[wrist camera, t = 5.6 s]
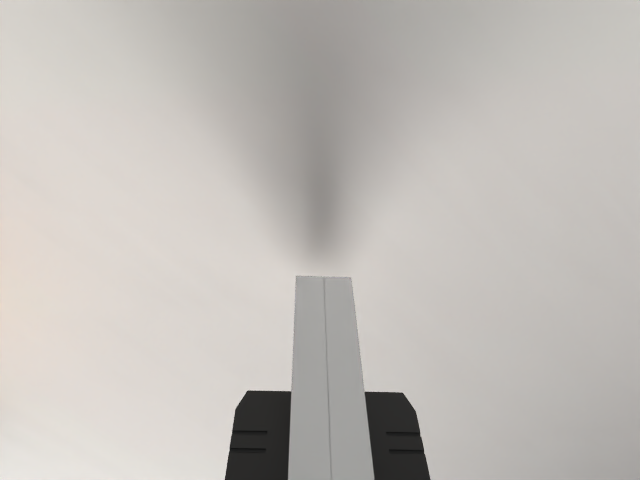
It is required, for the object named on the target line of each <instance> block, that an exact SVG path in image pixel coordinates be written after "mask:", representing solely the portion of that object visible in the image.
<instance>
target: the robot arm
mask: <svg viewBox="0 0 640 480" xmlns="http://www.w3.org/2000/svg"><path fill="white" fill-rule="evenodd" d="M225 480H430V476H429V471H428V466H427V462H426V457H425V454H424V448H423V443H422V438H421V437H420V429H419V424H418V420H417V415H416V411H415V410H414V408H413V407H412V405H411V404H410V402H409V401H408V399H407V398H406V397H405V395H404V394H403V393H395V392H364V384H363V375H362V366H361V357H360V349H359V340H358V331H357V322H356V314H355V305H354V296H353V287H352V279H351V278H350V277H317V276H296V290H295V315H294V340H293V366H292V391H291V392H290V391H247V392H246V394H245V395H244V397H243V399H242V400H241V402H240V403H239V405H238V406H237V408H236V410H235V417H234V423H233V430H232V436H231V443H230V452H229V456H228V463H227V469H226V476H225Z"/></svg>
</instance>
